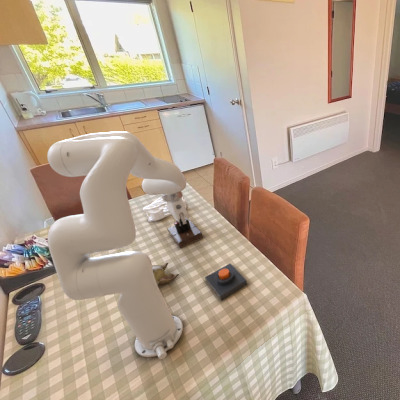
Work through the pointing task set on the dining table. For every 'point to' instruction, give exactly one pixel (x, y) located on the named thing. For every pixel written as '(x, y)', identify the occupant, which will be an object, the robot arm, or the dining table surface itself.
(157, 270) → the ceramic sculpture
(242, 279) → the button block
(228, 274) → the button
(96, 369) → the dining table surface
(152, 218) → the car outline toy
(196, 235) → the panel
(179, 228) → the handle
